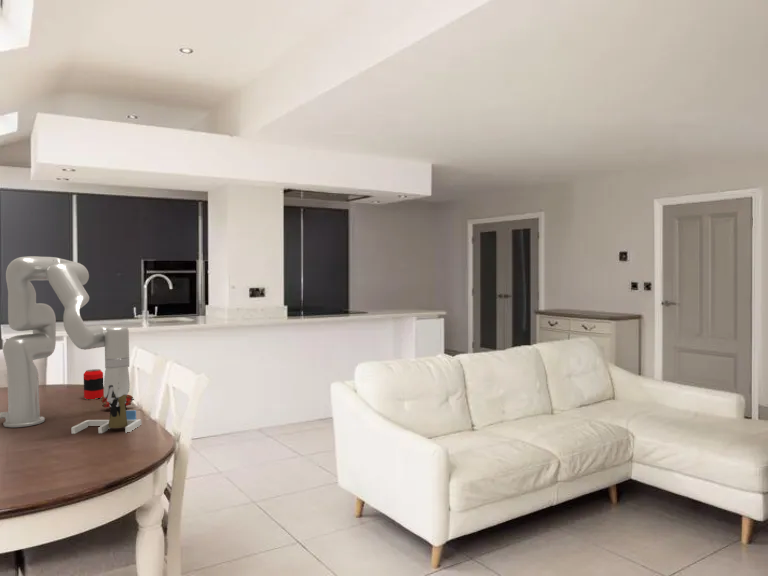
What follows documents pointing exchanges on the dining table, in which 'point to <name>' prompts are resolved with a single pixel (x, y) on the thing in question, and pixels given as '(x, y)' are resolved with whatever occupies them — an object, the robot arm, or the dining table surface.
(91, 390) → the soda can
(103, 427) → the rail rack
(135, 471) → the dining table surface
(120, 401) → the olive rounded piece
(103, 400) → the dragon fruit
